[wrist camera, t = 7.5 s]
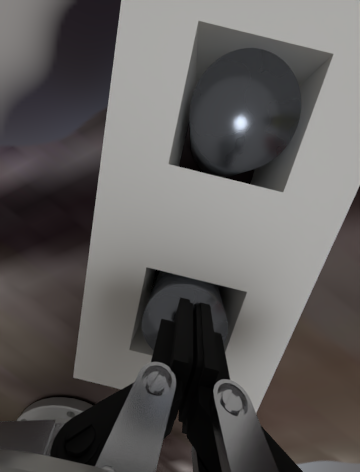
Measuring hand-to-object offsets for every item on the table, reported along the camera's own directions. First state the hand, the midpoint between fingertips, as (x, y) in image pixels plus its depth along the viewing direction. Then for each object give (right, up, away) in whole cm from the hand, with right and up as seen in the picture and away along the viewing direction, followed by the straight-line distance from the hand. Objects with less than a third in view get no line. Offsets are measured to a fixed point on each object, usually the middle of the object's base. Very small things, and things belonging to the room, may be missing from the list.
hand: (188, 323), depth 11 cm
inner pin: (0, +1, +6) cm, 6 cm away
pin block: (+1, +6, +5) cm, 8 cm away
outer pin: (+3, +12, +4) cm, 12 cm away
